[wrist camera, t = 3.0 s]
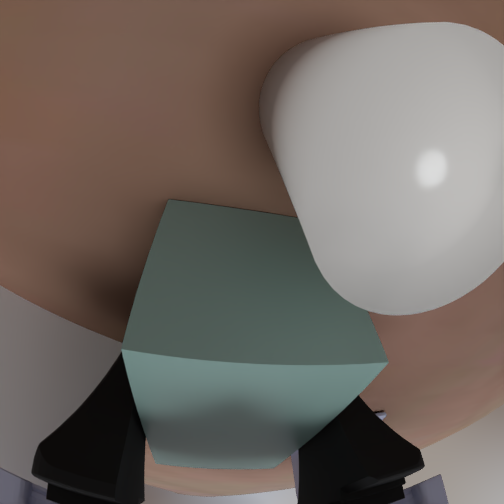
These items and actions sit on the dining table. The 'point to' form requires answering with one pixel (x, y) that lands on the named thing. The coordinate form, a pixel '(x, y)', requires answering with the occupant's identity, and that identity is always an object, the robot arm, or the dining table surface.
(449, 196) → the white domed capsule
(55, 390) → the storage container
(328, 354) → the green tapered block
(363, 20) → the dining table surface
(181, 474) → the dining table surface
